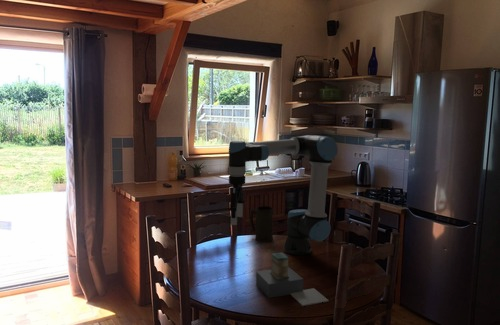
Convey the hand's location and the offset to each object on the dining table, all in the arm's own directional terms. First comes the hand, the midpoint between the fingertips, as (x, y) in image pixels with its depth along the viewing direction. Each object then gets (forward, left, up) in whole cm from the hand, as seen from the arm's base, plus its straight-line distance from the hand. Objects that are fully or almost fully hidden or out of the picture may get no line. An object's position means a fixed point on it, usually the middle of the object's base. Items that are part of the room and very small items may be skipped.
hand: (236, 220), depth 189 cm
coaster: (-21, +31, -27) cm, 46 cm away
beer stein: (-31, -46, -27) cm, 62 cm away
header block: (-13, +19, -27) cm, 35 cm away
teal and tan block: (-13, +19, -27) cm, 35 cm away
